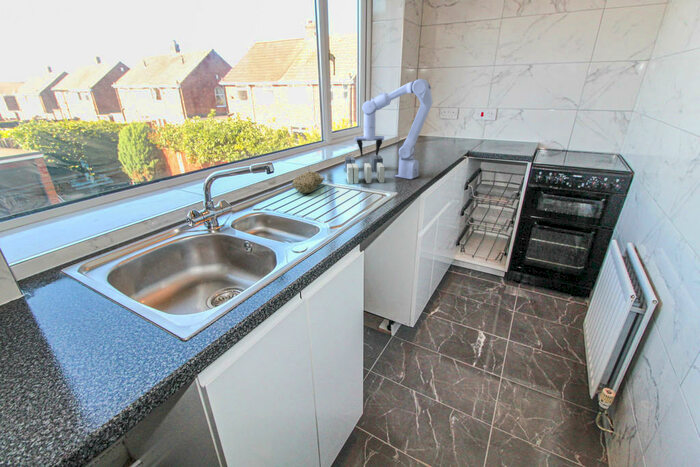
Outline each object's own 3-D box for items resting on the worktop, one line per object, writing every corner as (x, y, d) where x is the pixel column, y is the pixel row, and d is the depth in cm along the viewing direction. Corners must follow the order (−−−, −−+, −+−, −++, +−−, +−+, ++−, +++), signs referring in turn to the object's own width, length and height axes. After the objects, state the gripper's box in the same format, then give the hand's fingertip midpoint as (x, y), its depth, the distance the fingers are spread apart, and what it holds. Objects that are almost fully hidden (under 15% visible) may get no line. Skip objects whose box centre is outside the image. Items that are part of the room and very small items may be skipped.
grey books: (379, 167, 183) (380, 155, 181) (382, 170, 175) (382, 158, 172) (345, 168, 182) (344, 156, 179) (346, 172, 174) (346, 159, 171)
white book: (368, 178, 161) (369, 162, 158) (371, 183, 153) (371, 167, 150) (364, 178, 161) (364, 163, 158) (366, 183, 153) (366, 167, 150)
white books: (381, 177, 162) (381, 162, 159) (384, 182, 154) (384, 166, 151) (347, 178, 161) (346, 163, 158) (348, 183, 153) (348, 167, 149)
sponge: (305, 185, 156) (280, 187, 138) (309, 169, 153) (283, 169, 136) (329, 193, 151) (306, 196, 133) (333, 177, 149) (310, 178, 131)
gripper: (382, 126, 164) (382, 153, 170) (353, 126, 164) (354, 154, 169) (385, 127, 158) (384, 156, 164) (355, 128, 157) (355, 156, 163)
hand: (369, 155), depth 166 cm, fingers open, 7 cm apart
